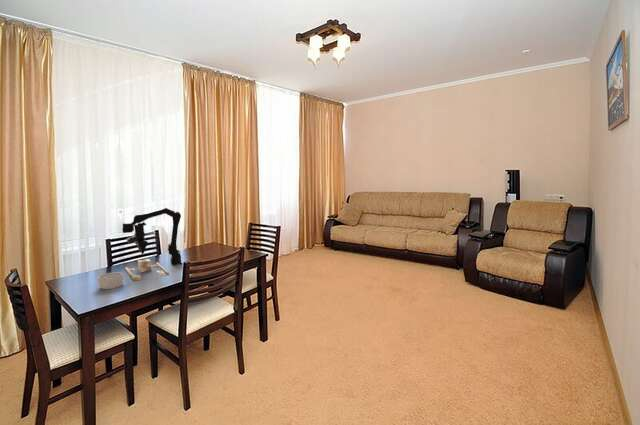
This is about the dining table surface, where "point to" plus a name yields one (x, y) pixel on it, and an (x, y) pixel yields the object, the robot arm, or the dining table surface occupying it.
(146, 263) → the maple block
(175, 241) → the robot arm
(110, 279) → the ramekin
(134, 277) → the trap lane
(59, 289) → the dining table surface
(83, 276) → the dining table surface
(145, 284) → the dining table surface
